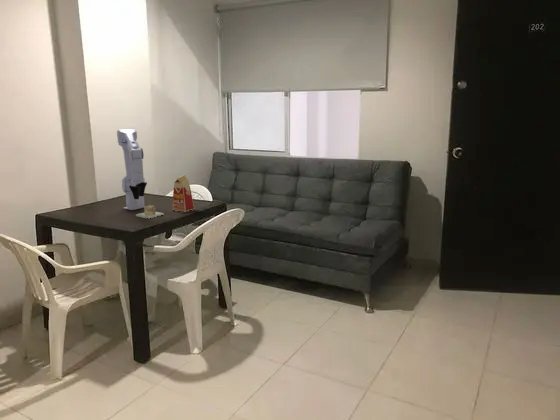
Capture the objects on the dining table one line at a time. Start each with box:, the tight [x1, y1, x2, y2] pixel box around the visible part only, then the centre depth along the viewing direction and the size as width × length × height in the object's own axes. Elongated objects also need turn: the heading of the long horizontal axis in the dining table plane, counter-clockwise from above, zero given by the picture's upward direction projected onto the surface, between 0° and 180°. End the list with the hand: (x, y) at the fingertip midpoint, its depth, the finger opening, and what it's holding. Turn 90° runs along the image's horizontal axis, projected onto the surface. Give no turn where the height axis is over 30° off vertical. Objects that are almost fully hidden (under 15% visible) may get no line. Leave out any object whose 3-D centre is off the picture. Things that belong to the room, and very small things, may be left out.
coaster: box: [135, 211, 165, 220], centre depth 245 cm, size 10×10×1 cm
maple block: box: [143, 205, 156, 215], centre depth 245 cm, size 4×4×4 cm
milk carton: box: [172, 173, 195, 213], centre depth 256 cm, size 9×9×20 cm
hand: (139, 197), depth 244 cm, fingers open, 7 cm apart
